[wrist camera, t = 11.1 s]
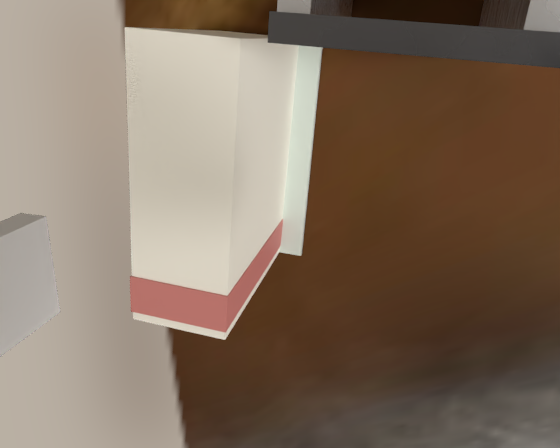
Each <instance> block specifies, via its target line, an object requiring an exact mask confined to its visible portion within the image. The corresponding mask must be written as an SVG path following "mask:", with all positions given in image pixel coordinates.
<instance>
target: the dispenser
mask: <svg viewBox="0 0 560 448" xmlns="http://www.w3.org/2000/svg"><path fill="white" fill-rule="evenodd" d="M352 7H353V0H278V2H277V12H275V11H269V26H268V43H277V44H288V45H300V46H311V47H323V48H335V49H346V50H358V51H369V52H381V53H392V54H404V55H415V56H427V57H439V58H450V59H462V60H473V61H485V62H496V63H508V64H519V65H531V66H542V67H554V68H560V0H484V2H483V7H482V12H481V17H480V22H479V26H466V25H452V24H439V23H425V22H411V21H398V20H384V19H370V18H357V17H351V16H352Z"/></svg>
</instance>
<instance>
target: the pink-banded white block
mask: <svg viewBox="0 0 560 448" xmlns="http://www.w3.org/2000/svg"><path fill="white" fill-rule="evenodd" d="M298 49H299V45H288V44H277V43H268V35H260V34H250V33H240V32H230V31H218V30H191V29H163V28H135V27H125V59H126V93H127V125H128V158H129V160H128V161H129V191H130V192H129V194H130V228H131V260H132V261H131V262H132V275H131V276H130V294H131V312H133V319H135V320H140V321H144V322H148V323H153V324H157V325H162V326H166V327H171V328H175V329H179V330H184V331H188V332H193V333H197V334H201V335H206V336H210V337H215V338H219V339H224V340H225V339H226V337H227V336H228V334H229V333H230V331H231V329H232V328H233V326H234V324H235V323H236V321H237V320H238V318H239V316H240V315H241V313H242V312H243V310H244V308H245V307H246V305H247V303H248V302H249V300H250V299H251V297H252V295H253V294H254V292H255V291H256V289H257V287H258V286H259V284H260V283H261V281H262V279H263V278H264V276H265V274H266V273H267V271H268V270H269V268H270V266H271V265H272V263H273V262H274V260H275V258H276V257H277V255H278V253H279V250H280V246H281V237H282V226H283V208H284V197H285V187H286V176H287V165H288V155H289V144H290V134H291V123H292V112H293V102H294V91H295V80H296V70H297V59H298Z"/></svg>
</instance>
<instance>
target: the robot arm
mask: <svg viewBox="0 0 560 448" xmlns="http://www.w3.org/2000/svg"><path fill="white" fill-rule="evenodd" d="M58 313H60V307H59V300H58V293H57V286H56V280H55V273H54V266H53V259H52V253H51V246H50V239H49V232H48V225H47V219H46V216H39V215H32V214H24V213H20V214H17V215H15V216H12V217H10V218H8V219H5V220H3V221H1V222H0V357H1V356H2V355H3V354H5V353H6V352H7V351H9V350H10V349H11V348H13V347H14V346H15V345H17V344H18V343H19V342H21V341H22V340H24V339H25V338H26V337H28V336H29V335H30V334H32V333H33V332H34V331H36V330H37V329H38V328H40V327H41V326H42V325H44V324H45V323H46V322H48V321H49V320H50V319H52V318H53V317H55V316H56V315H57V314H58Z"/></svg>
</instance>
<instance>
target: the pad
mask: <svg viewBox="0 0 560 448" xmlns="http://www.w3.org/2000/svg"><path fill="white" fill-rule="evenodd" d="M322 48H323V47H311V46H300V45H299V49H298V59H297V70H296V80H295V91H294V102H293V112H292V123H291V134H290V144H289V155H288V165H287V176H286V187H285V197H284V208H283V226H282V237H281V246H280V250H279V252H282V253H287V254H293V255H299V256H301V254H302V248H303V238H304V228H305V218H306V208H307V198H308V188H309V178H310V168H311V158H312V148H313V138H314V128H315V118H316V108H317V98H318V88H319V78H320V68H321V58H322Z"/></svg>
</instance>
